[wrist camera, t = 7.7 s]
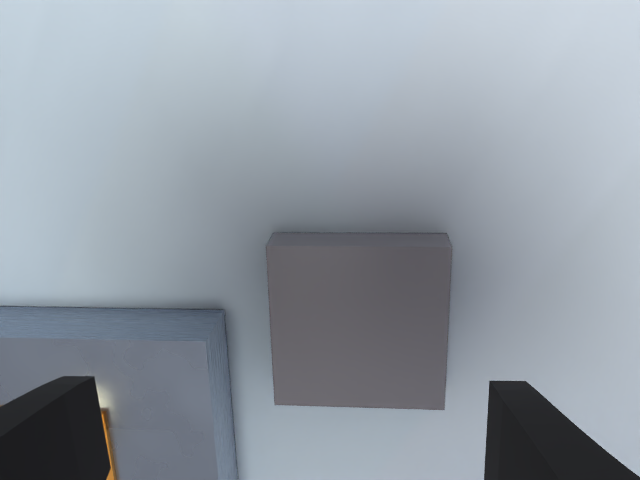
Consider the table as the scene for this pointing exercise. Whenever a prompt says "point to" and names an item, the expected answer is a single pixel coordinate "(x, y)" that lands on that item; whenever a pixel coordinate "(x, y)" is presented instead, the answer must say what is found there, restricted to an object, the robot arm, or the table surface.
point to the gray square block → (359, 319)
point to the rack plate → (134, 382)
